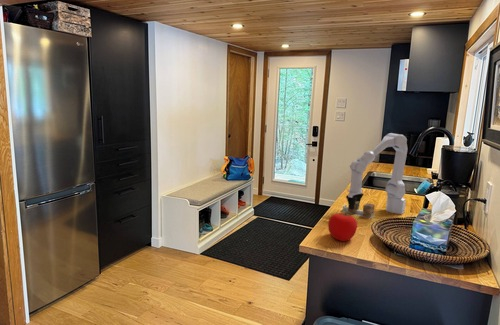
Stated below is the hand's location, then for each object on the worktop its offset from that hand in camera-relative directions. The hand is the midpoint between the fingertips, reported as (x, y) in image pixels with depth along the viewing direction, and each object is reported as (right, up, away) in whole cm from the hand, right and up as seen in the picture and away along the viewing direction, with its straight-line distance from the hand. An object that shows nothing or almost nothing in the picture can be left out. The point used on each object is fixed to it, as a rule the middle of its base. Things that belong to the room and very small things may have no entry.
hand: (353, 207), depth 181 cm
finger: (+6, -4, -4) cm, 8 cm away
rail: (+2, -4, -1) cm, 4 cm away
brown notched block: (0, -3, +1) cm, 3 cm away
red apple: (-16, -9, -33) cm, 38 cm away
